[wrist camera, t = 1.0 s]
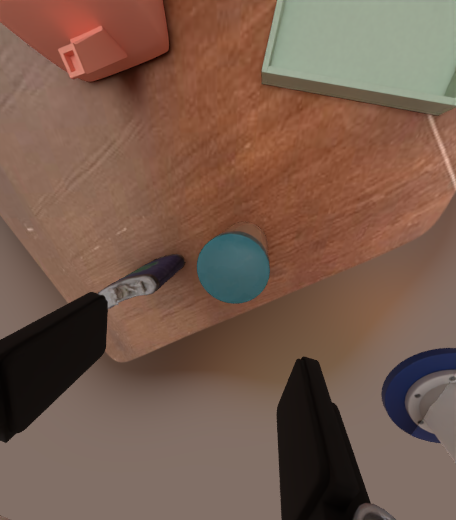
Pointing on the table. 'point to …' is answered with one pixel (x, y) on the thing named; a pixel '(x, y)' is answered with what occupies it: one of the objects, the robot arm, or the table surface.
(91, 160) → the table surface
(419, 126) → the table surface
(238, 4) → the table surface
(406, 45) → the tray
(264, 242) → the jar
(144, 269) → the flask
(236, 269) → the lid
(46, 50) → the teapot
